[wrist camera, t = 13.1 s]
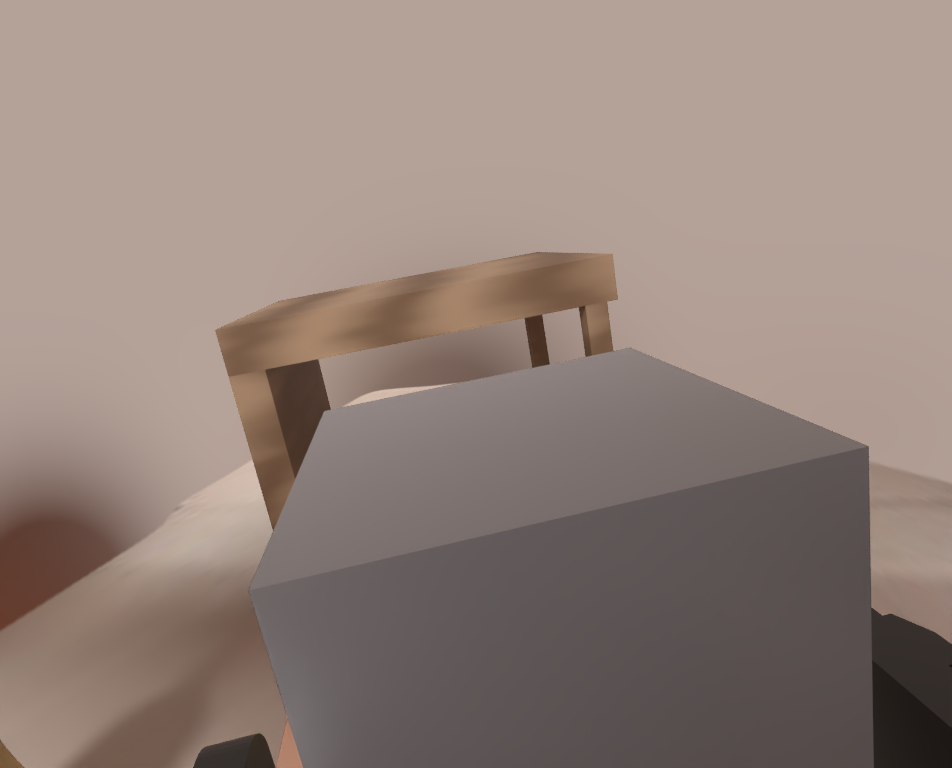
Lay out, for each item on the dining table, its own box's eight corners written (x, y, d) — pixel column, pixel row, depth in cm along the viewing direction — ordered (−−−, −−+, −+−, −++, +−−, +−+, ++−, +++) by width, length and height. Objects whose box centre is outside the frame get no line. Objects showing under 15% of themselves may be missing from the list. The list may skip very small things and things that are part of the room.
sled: (211, 1763, 6) (-518, 766, 3) (347, 625, 26) (266, 321, 22) (1174, 1370, 7) (1383, 327, 4) (610, 562, 27) (569, 263, 24)
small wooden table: (300, 623, 28) (215, 330, 24) (330, 500, 41) (278, 301, 38) (646, 540, 29) (612, 253, 26) (566, 448, 43) (536, 252, 39)
